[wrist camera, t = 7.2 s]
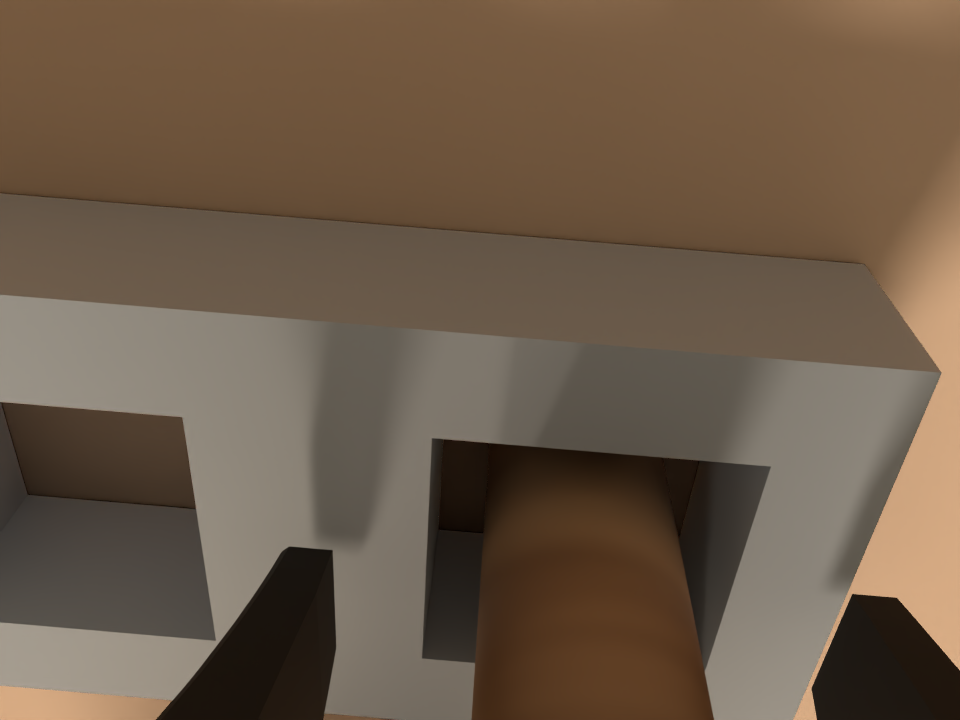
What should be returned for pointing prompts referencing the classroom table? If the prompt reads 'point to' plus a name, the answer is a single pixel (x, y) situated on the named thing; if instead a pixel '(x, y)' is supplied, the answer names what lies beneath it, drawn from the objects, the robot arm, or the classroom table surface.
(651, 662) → the peg
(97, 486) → the classroom table surface
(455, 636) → the hole block
